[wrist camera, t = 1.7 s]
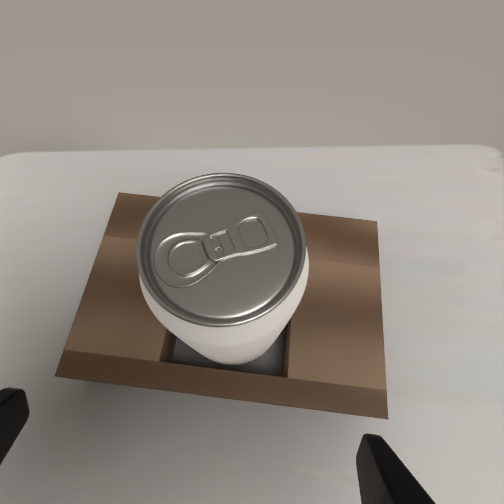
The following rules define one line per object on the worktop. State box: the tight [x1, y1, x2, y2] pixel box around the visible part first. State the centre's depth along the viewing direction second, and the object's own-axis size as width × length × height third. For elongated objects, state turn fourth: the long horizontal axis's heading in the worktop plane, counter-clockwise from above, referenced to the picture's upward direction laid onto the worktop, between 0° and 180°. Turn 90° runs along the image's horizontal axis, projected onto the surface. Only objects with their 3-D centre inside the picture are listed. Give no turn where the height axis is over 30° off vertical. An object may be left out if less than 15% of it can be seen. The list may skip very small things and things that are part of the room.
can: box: [136, 173, 309, 365], centre depth 16 cm, size 6×6×12 cm
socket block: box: [55, 193, 388, 419], centre depth 20 cm, size 12×18×3 cm, turn 83°
